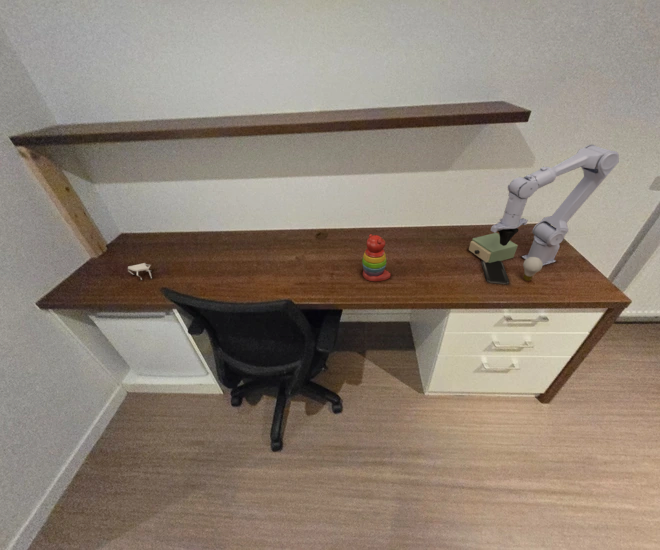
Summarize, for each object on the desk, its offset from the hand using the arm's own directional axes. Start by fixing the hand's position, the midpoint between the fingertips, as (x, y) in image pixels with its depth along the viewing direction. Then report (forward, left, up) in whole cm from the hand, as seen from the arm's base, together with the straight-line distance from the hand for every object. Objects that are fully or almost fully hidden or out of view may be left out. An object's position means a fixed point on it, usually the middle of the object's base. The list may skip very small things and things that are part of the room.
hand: (502, 244), depth 116 cm
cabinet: (-4, -8, -10) cm, 13 cm away
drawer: (-2, -8, -9) cm, 12 cm away
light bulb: (-3, +12, -10) cm, 16 cm away
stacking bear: (+48, -14, -10) cm, 51 cm away
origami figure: (+141, -53, -10) cm, 151 cm away
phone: (+4, +3, -11) cm, 12 cm away
